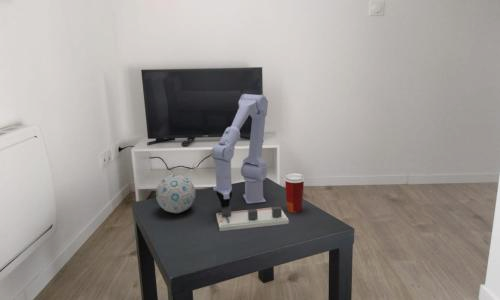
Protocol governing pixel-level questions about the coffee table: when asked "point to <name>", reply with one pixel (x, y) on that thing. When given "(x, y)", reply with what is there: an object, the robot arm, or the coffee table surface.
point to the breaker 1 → (226, 211)
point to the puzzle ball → (175, 193)
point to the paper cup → (294, 192)
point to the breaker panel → (241, 220)
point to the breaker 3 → (276, 211)
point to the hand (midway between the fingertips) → (225, 209)
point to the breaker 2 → (252, 214)
